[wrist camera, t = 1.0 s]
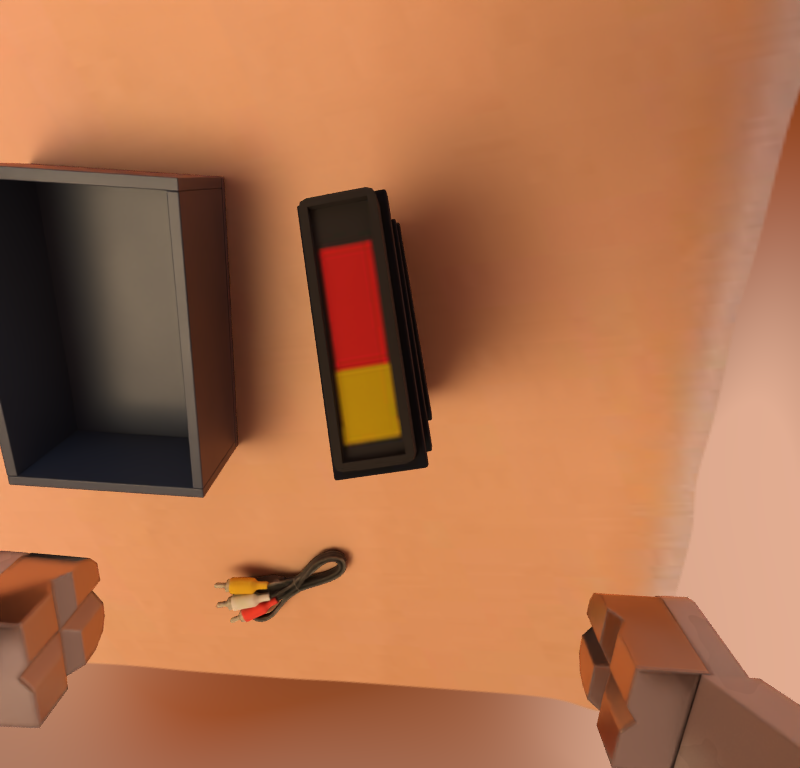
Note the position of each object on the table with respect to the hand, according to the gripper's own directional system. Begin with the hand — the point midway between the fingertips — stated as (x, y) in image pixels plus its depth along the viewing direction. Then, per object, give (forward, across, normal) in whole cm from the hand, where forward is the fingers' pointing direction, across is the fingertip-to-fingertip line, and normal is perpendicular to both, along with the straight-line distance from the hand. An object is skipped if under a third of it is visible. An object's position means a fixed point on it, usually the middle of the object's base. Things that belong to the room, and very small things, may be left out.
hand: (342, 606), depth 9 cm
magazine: (+26, +1, -1) cm, 26 cm away
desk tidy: (+26, +16, +1) cm, 30 cm away
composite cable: (+27, +7, +21) cm, 35 cm away
